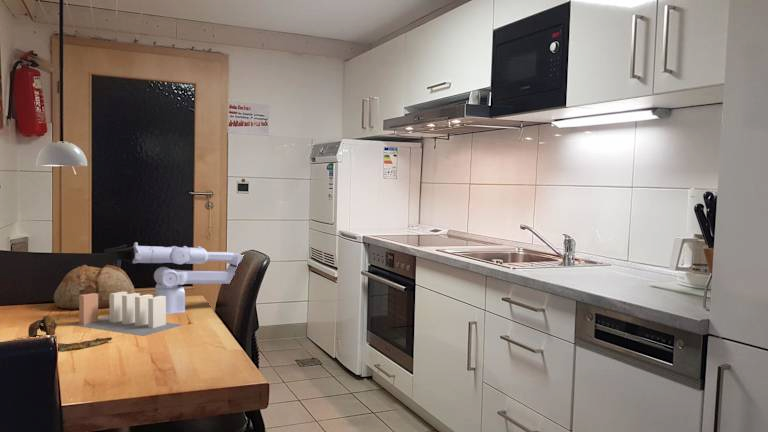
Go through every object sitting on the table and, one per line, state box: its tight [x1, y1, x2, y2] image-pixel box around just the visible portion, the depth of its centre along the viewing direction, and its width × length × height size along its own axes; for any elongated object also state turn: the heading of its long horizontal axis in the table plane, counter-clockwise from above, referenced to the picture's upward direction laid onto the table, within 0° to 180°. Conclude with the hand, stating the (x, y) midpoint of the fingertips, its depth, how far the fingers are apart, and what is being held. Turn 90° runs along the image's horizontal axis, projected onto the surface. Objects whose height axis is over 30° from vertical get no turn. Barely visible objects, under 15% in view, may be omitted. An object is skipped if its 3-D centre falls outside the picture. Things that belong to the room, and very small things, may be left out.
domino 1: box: [78, 293, 99, 325], centre depth 180 cm, size 2×5×9 cm, turn 156°
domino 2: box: [109, 292, 127, 322], centre depth 184 cm, size 2×5×9 cm, turn 156°
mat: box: [70, 315, 183, 337], centre depth 179 cm, size 31×16×1 cm, turn 66°
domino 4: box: [135, 294, 154, 326], centre depth 180 cm, size 2×5×9 cm, turn 156°
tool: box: [27, 315, 113, 353], centre depth 154 cm, size 23×6×30 cm
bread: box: [53, 264, 136, 310], centre depth 211 cm, size 26×23×15 cm
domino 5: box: [148, 296, 167, 328], centre depth 177 cm, size 2×5×9 cm, turn 156°
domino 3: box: [122, 292, 141, 324], centre depth 182 cm, size 2×5×9 cm, turn 156°
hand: (106, 253), depth 187 cm, fingers open, 7 cm apart
